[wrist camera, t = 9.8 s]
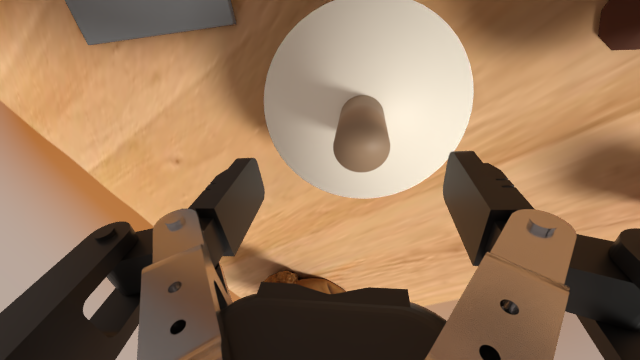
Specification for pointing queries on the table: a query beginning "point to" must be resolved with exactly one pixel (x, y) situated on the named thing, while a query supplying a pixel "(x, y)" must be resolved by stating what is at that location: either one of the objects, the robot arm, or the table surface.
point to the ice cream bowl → (621, 24)
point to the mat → (146, 17)
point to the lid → (368, 96)
